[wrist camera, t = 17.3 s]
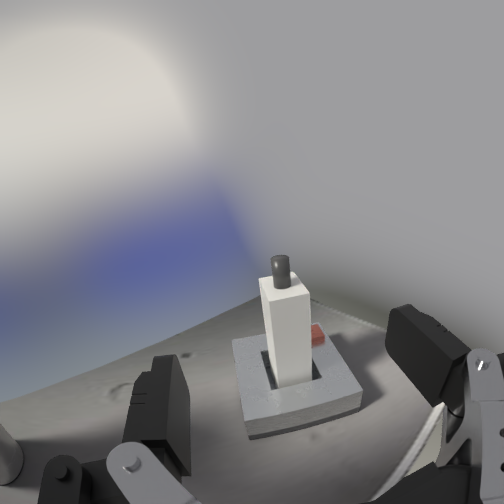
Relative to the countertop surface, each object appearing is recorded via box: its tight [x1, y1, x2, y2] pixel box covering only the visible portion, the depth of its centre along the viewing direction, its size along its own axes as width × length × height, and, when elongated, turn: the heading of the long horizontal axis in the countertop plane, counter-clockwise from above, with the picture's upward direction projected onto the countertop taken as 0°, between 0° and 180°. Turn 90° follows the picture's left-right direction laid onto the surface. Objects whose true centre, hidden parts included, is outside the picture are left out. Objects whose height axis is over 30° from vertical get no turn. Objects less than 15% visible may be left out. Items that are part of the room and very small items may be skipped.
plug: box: [259, 255, 312, 389], centre depth 31 cm, size 4×6×17 cm
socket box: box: [232, 322, 363, 440], centre depth 33 cm, size 13×15×5 cm
